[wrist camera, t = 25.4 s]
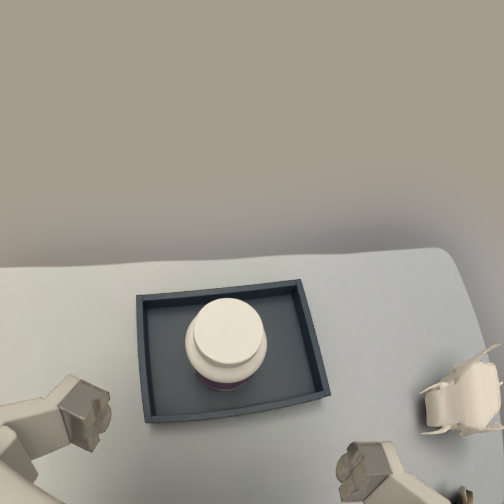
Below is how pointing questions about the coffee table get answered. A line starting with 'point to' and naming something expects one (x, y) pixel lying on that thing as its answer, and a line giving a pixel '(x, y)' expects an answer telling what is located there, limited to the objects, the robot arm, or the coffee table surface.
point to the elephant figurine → (465, 398)
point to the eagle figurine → (464, 496)
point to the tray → (261, 382)
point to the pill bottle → (226, 344)
